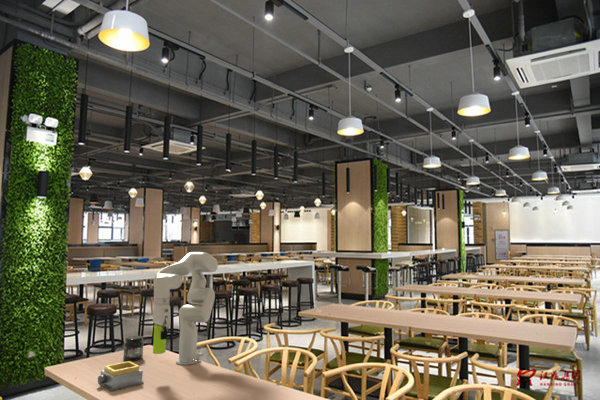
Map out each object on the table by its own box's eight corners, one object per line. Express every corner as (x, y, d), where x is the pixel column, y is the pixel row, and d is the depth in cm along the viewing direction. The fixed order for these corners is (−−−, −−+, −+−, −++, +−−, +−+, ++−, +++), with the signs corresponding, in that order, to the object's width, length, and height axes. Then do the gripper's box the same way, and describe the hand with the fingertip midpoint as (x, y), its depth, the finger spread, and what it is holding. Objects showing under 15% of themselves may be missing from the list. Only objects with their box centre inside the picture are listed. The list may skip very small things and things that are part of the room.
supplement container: (129, 355, 242) (130, 335, 243) (146, 356, 241) (147, 335, 242) (119, 361, 232) (120, 339, 233) (137, 361, 231) (138, 339, 232)
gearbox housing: (129, 376, 206) (130, 359, 207) (143, 383, 196) (144, 366, 197) (94, 384, 194) (95, 366, 195) (107, 392, 184) (108, 374, 185)
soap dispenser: (163, 354, 200) (165, 313, 201) (150, 353, 202) (152, 312, 202) (169, 350, 206) (171, 310, 207) (157, 349, 207) (159, 309, 208)
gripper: (177, 302, 202) (176, 339, 201) (160, 298, 214) (159, 333, 213) (163, 304, 197) (161, 342, 196) (146, 299, 209) (145, 336, 208)
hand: (160, 337), depth 204 cm, fingers closed on soap dispenser, 6 cm apart
